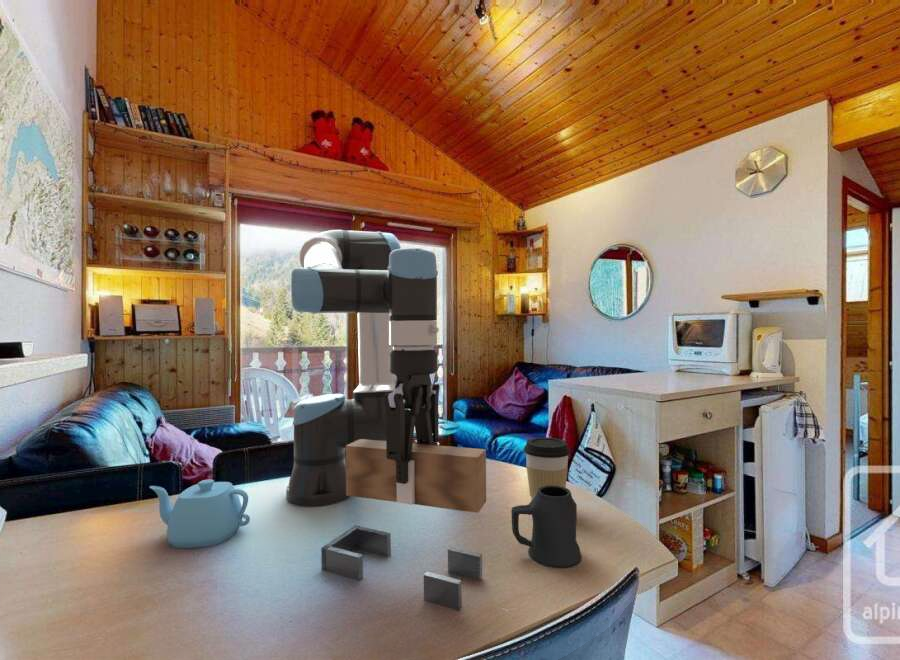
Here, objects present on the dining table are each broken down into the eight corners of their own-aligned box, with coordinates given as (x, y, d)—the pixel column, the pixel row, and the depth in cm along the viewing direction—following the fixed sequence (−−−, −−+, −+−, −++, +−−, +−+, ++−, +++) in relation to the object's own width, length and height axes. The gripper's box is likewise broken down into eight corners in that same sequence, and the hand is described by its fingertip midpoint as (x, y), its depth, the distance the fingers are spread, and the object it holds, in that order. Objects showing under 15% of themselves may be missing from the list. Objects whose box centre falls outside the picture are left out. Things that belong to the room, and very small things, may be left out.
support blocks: (423, 602, 64) (423, 574, 64) (450, 571, 72) (450, 546, 72) (458, 612, 62) (458, 584, 62) (482, 579, 70) (481, 553, 70)
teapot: (166, 472, 90) (259, 468, 92) (166, 525, 90) (259, 520, 92) (129, 496, 77) (237, 490, 79) (130, 557, 77) (238, 550, 79)
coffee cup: (566, 503, 99) (566, 437, 99) (574, 523, 89) (574, 448, 89) (522, 502, 100) (522, 436, 100) (525, 521, 90) (525, 448, 90)
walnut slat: (346, 495, 71) (345, 445, 71) (360, 485, 75) (360, 439, 75) (478, 512, 64) (478, 457, 64) (486, 501, 68) (485, 449, 68)
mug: (569, 540, 82) (569, 480, 82) (590, 567, 73) (590, 499, 73) (506, 545, 81) (505, 483, 81) (519, 572, 72) (519, 503, 72)
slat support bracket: (321, 572, 72) (321, 547, 72) (355, 547, 80) (355, 525, 80) (359, 583, 69) (358, 557, 69) (390, 556, 77) (390, 533, 77)
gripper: (404, 351, 60) (405, 523, 60) (458, 346, 76) (459, 481, 76) (359, 350, 63) (360, 514, 63) (420, 346, 79) (421, 475, 79)
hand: (414, 496), depth 70 cm, fingers closed on walnut slat, 5 cm apart
